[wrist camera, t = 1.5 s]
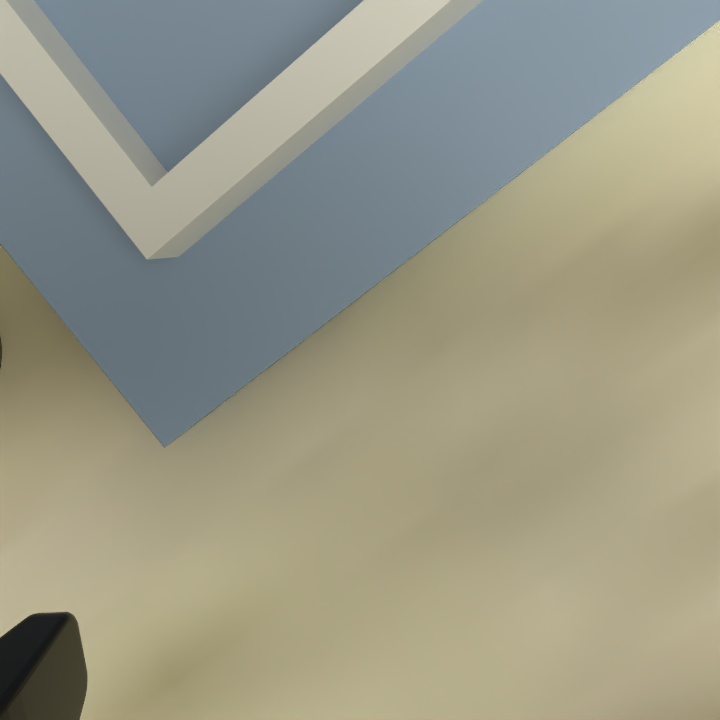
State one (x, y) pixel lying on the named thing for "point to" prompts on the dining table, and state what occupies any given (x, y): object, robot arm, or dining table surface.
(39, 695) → the robot arm
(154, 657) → the dining table surface
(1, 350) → the shaft
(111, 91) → the blue square board
